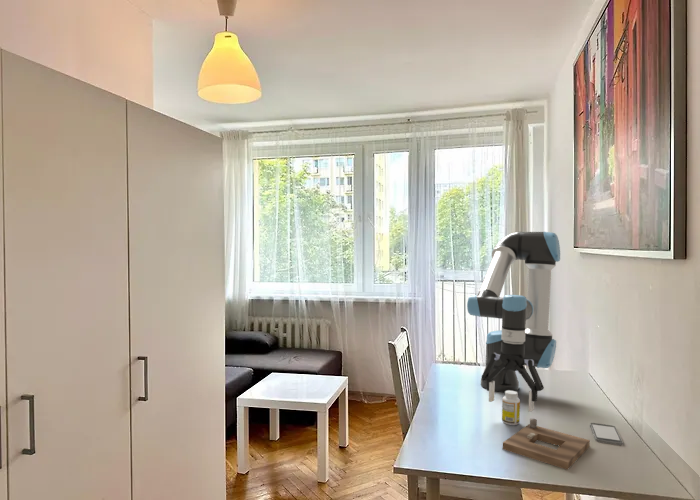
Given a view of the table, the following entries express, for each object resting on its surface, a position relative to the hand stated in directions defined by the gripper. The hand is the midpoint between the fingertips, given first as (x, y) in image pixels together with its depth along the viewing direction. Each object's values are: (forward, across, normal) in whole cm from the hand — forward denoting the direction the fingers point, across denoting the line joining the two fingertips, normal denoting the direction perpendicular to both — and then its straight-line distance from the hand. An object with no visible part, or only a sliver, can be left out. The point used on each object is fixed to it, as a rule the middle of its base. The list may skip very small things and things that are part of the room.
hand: (510, 405), depth 161 cm
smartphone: (+6, +26, +12) cm, 29 cm away
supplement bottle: (+6, 0, 0) cm, 6 cm away
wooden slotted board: (+6, +16, -12) cm, 21 cm away
